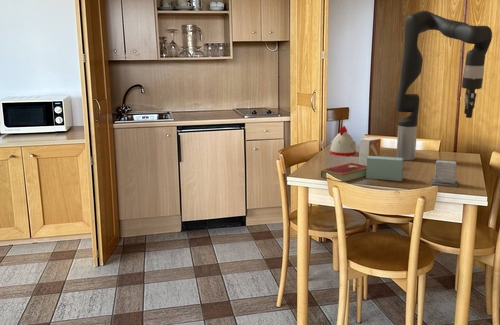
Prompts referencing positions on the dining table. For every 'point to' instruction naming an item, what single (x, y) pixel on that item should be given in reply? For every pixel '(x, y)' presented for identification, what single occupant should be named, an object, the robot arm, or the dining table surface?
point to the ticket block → (384, 168)
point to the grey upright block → (445, 171)
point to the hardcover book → (346, 171)
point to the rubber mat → (444, 183)
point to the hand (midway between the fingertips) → (467, 115)
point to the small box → (368, 149)
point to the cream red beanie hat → (343, 144)
